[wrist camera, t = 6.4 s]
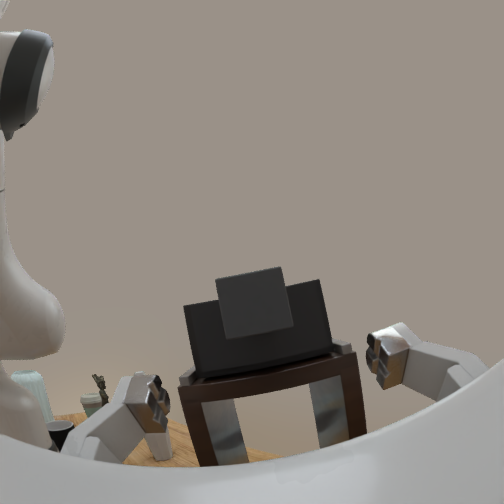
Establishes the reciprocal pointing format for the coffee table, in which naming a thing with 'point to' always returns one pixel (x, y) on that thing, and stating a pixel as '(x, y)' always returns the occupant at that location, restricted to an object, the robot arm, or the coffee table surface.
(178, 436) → the coffee table surface
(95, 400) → the coffee cup
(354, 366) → the stand
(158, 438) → the faceted bottle
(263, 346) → the basket
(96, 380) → the statue
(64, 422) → the mug
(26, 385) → the vase
